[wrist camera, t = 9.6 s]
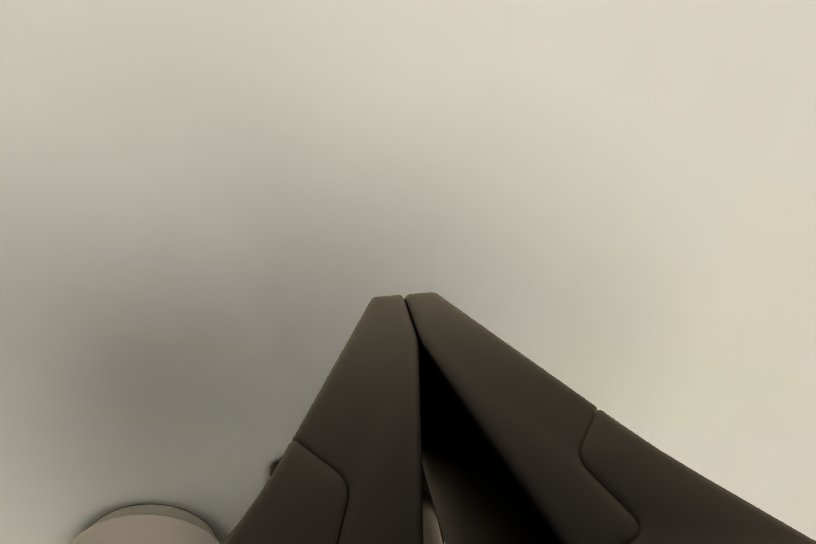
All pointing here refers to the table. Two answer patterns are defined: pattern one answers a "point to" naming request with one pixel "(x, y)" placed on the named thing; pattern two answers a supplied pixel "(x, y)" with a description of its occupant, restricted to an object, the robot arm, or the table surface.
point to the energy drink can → (148, 527)
